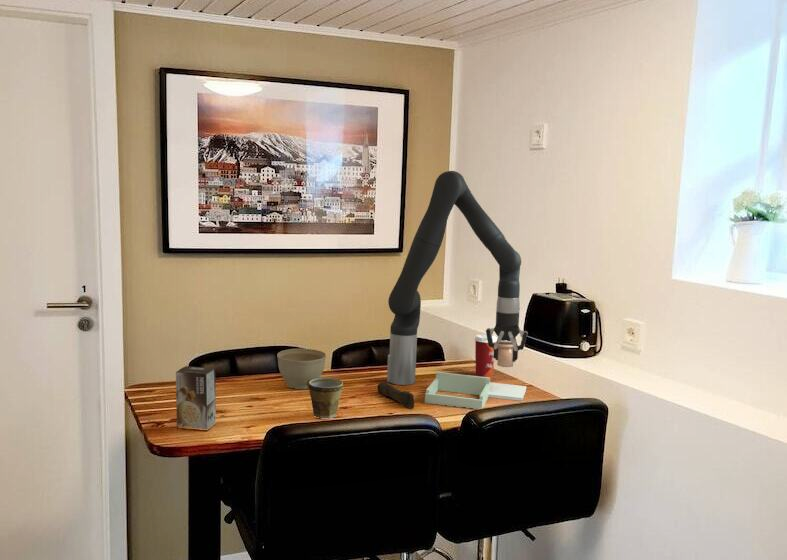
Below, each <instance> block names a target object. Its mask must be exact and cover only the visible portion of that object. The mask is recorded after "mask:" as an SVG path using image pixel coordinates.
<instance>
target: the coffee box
mask: <svg viewBox="0 0 787 560" xmlns="http://www.w3.org/2000/svg"><path fill="white" fill-rule="evenodd" d="M175 385H176V386H175V391H176V392H175V395H176V399H175V400H176V403H175V404H176V427H177V426H182V427H192V428H202V429H208V428H209V427H211V426H212V425H213V424H214V423H215V422H216V423H217V416H216V415H217V410H216V409H217V408H216V407H217V405H216V400H217V399H216V396H217V395H216V394H217V393H216V368H214V367H201V366H190V365H185V366H183V367H182V368H180V369H179V370H177V371H175Z"/></svg>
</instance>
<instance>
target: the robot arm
mask: <svg viewBox="0 0 787 560" xmlns="http://www.w3.org/2000/svg"><path fill="white" fill-rule="evenodd" d="M454 206H455V207H456V208H457V209H458V210H459V212H460V213H461V214H462V215H463V216H464V218H465V219H466V221H467V223H468V225H469V226H470V228H471V229H472V231H473V233H474V234H475V235H476V237H477V238H478V239H479V241H480V242H481V243H482V244H483V246H484V247H485V248H486V249H487V250H488V251H489V252H490V253H491V256H492V257H493V259H494V260H495V262H497V264H498V265H499V266H498V267H499V280H498V285H497V298H496V299H497V300H496V309H495V311H496V312H495V313H496V314H495V326H494V327H492V328H490V327H488V328H486V330H485V332H486V333H485V334H487V340H488V346H489V347H492V348H493V349H494V356H493V357H494V358H495V359H494V361H497V360H498V343H500V342H501V341H508V342H511V343H512V345H514V351H513V363H515V362H516V361H517V360H518V357H519V351H521V350H522V351H523V350H524V347H525V344H526V340H527V337H528V334H529V332H528V331H527V330H521V329H520V326H519V324H520V311H521V308H520V306H521V305H520V304H521V303H520V293H521V292H520V291H521V290H520V287H521V286H520V271H521V265H522V257H521V255H520V253H519V252H518V251H517V250H516V249H514V247H513V246H512V245H511V244H510V243H509V242H508V240H507V239H506V237H505V236H504V233H503V232H502V231H501V230H500V228H499V227H498V226H497V225H496V223H495V222H494V220H492V219H491V217H490V216H489V215H488V213H486V211H485V210H484V209H483V208H482V206H481V205H480V204H479V202H478V201H477V199H476V198H475V196H474V195H473V193H472V191H471V190H470V188H469V186H468V184H467V183H466V181H465V178H464V176H463V175H462V174H461V173H459V172H458V171H455V170H448V171H444V172H442V173H440V174H439V175H438V176H437V177H436V180H435V182H434V185H433V189H432V194H431V197H430V201H429V204H428V207H427V209H426V212H425V213H424V215H423V218H422V219H421V221H420V223H419V225H418V228H417V230H416V232H415V234H414V237H413V240H412V241H411V244H410V248H409V250H408V253H407V256H406V259H405V261H404V263H403V267H402V269H401V272H400V275H399V276H398V278H397V280H396V283H395V284H394V286H393V289H392V290H391V291H390V294H389V297H388V301H387V302H388V307H389V310H390V311H391V312H392V314H394V318H393V321H392V322H391V324H390V330H389V331H390V332H389V333H390V335H389V354H387V368H386V369H387V370H386V371H387V372H386V382H387V383H390V384H393V385H398V386H410V385H413V384H415V383H416V368H417V364H416V363H417V342H418V330H419V329H418V328H419V326H420V318H421V305H422V301H421V299H422V298H421V295H420V293H419V291H418V288H419V286H420V284H421V281H422V279H423V278H424V276H425V275H426V273H427V272H428V271H429V269H430V268H431V266H432V265H433V263H434V261H435V260H436V258H437V257H438V256H437V255H438V254H439V251H440V249H441V246H442V244H443V241H444V237H445V233H446V229H447V228H446V227H447V225H448V220H449V216H450V213H451V212H452V209H453V207H454ZM494 333H495V336H496V337H497V341H496V343H495V344H494V343H493V340H492V335H494ZM518 335H520V338H521V342H520V344H518V341H517V336H518Z"/></svg>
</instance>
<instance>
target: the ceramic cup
mask: <svg viewBox="0 0 787 560" xmlns="http://www.w3.org/2000/svg"><path fill="white" fill-rule="evenodd" d="M307 386H308V389H307V390H308V391H309V395H310V396H309V397H310V398H311V399H310V400H311V405H312V413H313V417H314V416H316V417H319V418H332V419H334V418H333V417H335V418H336V417H337V413H338V409H339V402H340V399H341V395H342V391H343V386H344V382H343V381H342V380H341V379H336V378H334V377H333V378H332V377H320V378H318V379H313V380H308V382H307ZM316 417H315V418H316ZM319 418H318V419H319Z"/></svg>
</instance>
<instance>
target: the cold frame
mask: <svg viewBox="0 0 787 560" xmlns="http://www.w3.org/2000/svg"><path fill="white" fill-rule="evenodd" d="M490 382H491V379H490V378H488V377H479V376H476V375H470V374H469V375H468V374H459V373H452V372H451V373H450V372H443V371H435V379H434V380H433V381H432V382H431V383H430V384H429V386H428V387H427V388H426V390H425V394H424V403H425V404H430V405H437V404H438V405H439V406H445V405H447V407H453V406H456V407H455V408H461V407H466V408H465V409H469V408H473V409H472V410H478V409H479V408H484V406H485V405H486V403H487V401H488V399H489V397H488V394H489V389H490ZM438 391H440V392H441V391H442V392H449V393H450V392H451V393H457V394H458V393H459V394H466V393H467V394H468V395H475V396H479V393H480V392H482V393H481V395H480V396H479V398H471V397H465V396H457V395H456V396H455V395H447V394H437V392H438ZM467 394H466V395H467Z"/></svg>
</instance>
